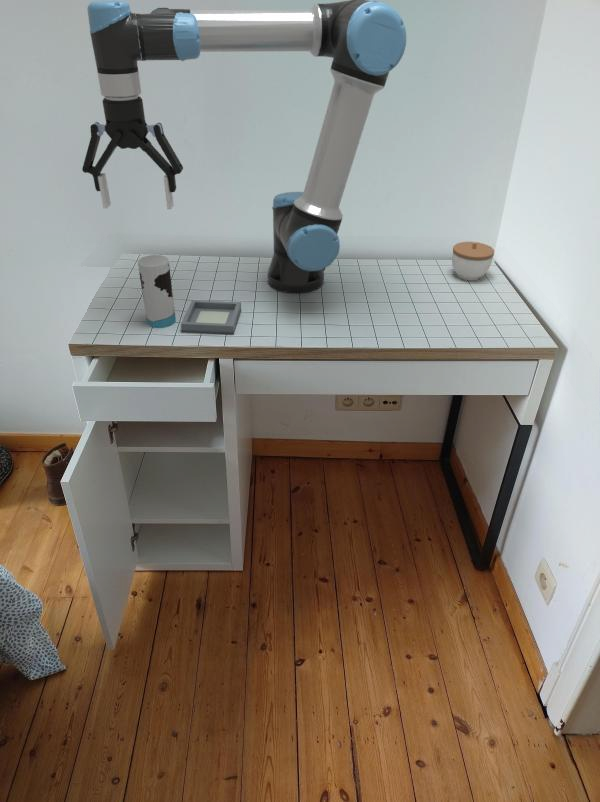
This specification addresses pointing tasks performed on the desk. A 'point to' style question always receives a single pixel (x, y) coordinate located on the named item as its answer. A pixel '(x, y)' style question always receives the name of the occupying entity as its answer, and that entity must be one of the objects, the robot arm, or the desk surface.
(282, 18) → the robot arm
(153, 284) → the cup
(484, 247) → the lidded jar
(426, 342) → the desk surface
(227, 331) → the tray
